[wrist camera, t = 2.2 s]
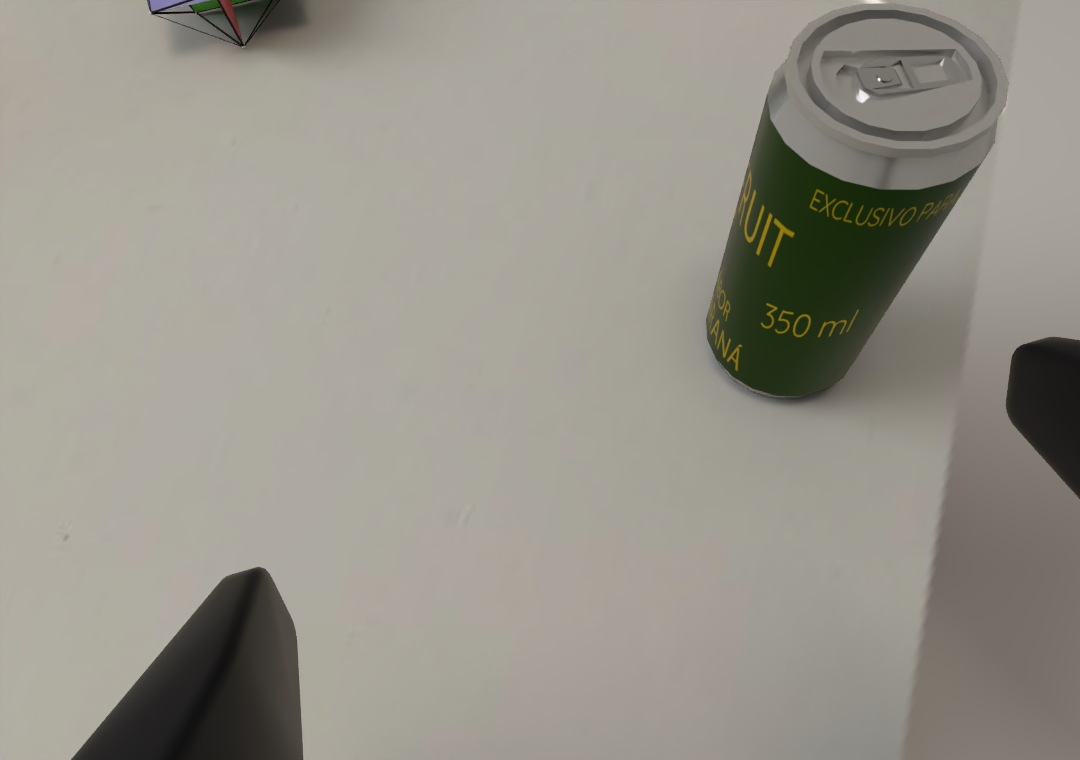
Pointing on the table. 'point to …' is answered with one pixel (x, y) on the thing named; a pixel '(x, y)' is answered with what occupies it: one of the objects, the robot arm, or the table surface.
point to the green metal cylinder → (848, 188)
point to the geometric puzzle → (199, 3)
